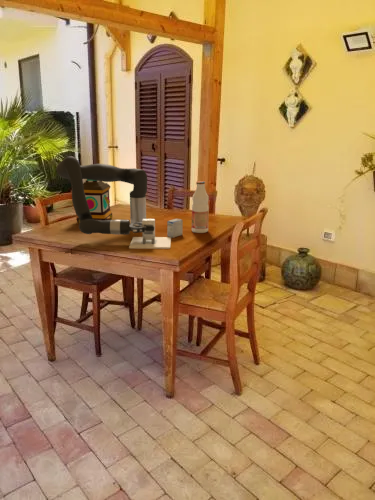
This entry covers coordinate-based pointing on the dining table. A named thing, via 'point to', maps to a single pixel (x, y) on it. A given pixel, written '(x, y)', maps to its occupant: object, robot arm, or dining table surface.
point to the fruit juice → (200, 209)
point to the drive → (148, 234)
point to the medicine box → (174, 228)
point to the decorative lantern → (97, 199)
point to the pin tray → (151, 243)
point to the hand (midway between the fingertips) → (154, 227)
